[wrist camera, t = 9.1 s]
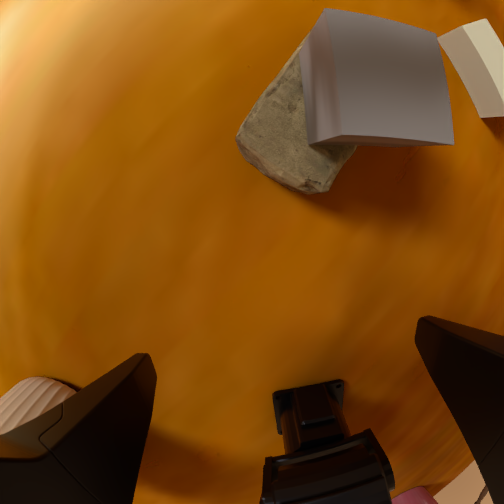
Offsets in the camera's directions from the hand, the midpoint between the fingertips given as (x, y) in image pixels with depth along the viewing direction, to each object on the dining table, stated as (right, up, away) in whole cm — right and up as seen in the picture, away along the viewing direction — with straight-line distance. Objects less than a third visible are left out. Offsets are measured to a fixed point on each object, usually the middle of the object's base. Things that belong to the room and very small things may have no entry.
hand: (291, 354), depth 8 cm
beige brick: (+19, +20, +7) cm, 28 cm away
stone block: (+3, +13, +9) cm, 16 cm away
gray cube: (+4, +11, +4) cm, 12 cm away
